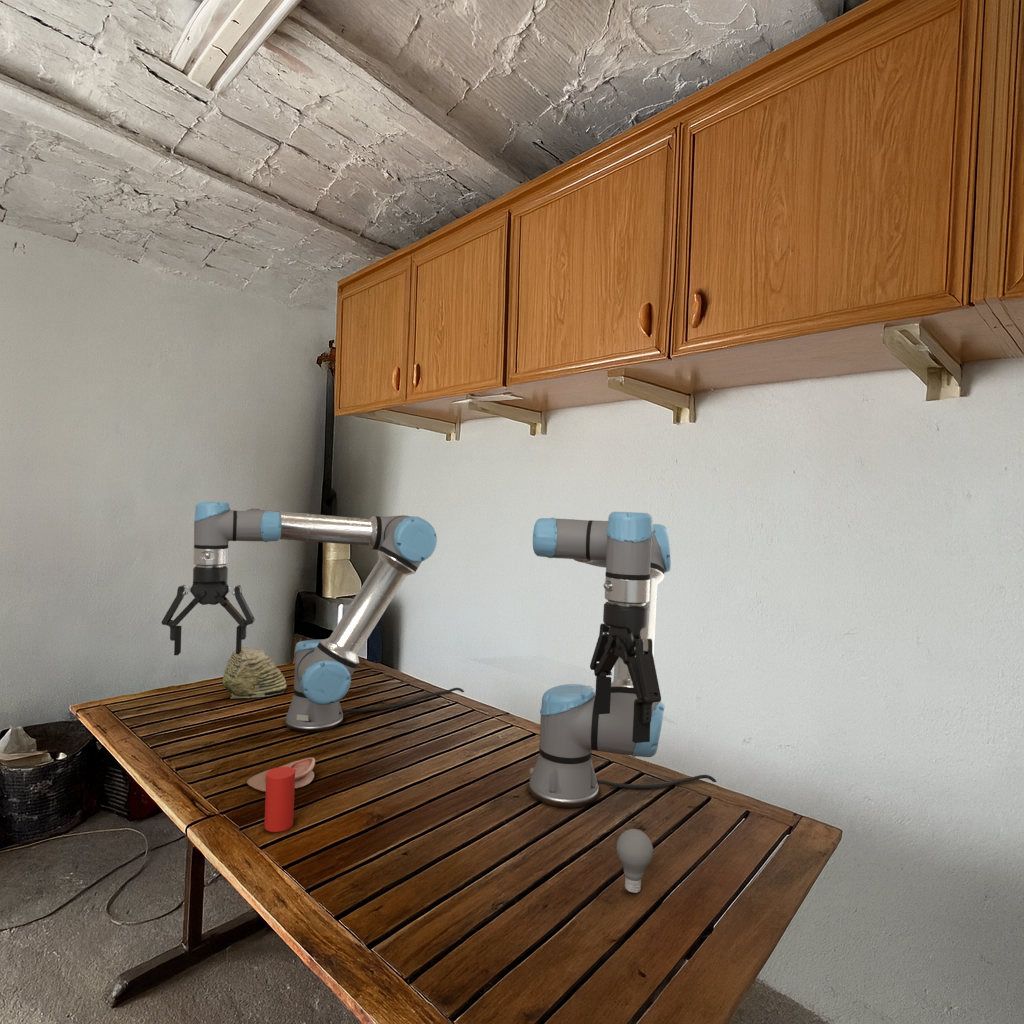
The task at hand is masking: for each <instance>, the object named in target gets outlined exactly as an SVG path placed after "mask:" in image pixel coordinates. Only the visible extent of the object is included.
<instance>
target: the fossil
mask: <svg viewBox="0 0 1024 1024" xmlns="http://www.w3.org/2000/svg"><path fill="white" fill-rule="evenodd" d="M222 676H223V677H222V685H223V687H224V688H225V690H226V691H228V693H229V698H230V699H250V698H264V697H271V696H275V695H281V694H284V693H285V691H286V689H287V687H288V686H287V680H286V678H285V676H284V674H283V673H282V672H281V669H279V668H278V667H277V665H276V663H275V662H274V660H273V659H272V658H271V657H270V656H269V655H268V654H267V653H266V652H265V650H264V649H263V648H260V647H258V648H251V647H247V646H246V647H245V646H241V652H240V654H236V649H235V650H233V651H232V653H231V656H230V657H229V659H228V660H227V663H226V666H225V668H224V671H223V675H222Z"/></svg>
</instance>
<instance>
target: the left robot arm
mask: <svg viewBox="0 0 1024 1024" xmlns="http://www.w3.org/2000/svg"><path fill="white" fill-rule="evenodd" d="M194 508H195V510H194V521H193V565H195V566H194V567H192V585H191V586H188V585H187V586H186V585H185V584H181V585H179V586H178V587H177V589H176V591H177V592H176V596H175V598H174V599H173V601H172V603H171V604H170V606H169V608H168V609H167V611H166V613H165V615H164V617H163V618H162V620H161V622H160V623H161V625H163V626H168V627H169V639H170V641H171V642H174V646H173V647H174V648H173V656H179V654H181V652H182V625H179V624H180V623H181V622H182V621H183V619H185V618H186V616H187V615H189V613H190V612H191V611H192V610H193V609H194V608H195V607H196V606H197V605H198V604H200V605H201V606H206V605H211V606H216V605H220V606H221V607H222V608H224V609H225V610H226V612H227V613H228V614H229V615H230V616H231V617H232V619H234V620H235V622H236V623H237V624H238V625H237V626H236V631H235V632H236V633H235V635H236V637H235V650H236V654H240V652H241V647H242V643H243V642H242V640H243V641H244V640H246V638H247V630H248V629H247V628H248V626H249V625H253V623H254V622H255V621H256V619H255V616H254V615H253V613H252V610H251V608H250V606H249V604H248V603H247V600H246V599H245V597H244V594H243V589H242V585H240V584H238V585H236V586H229V584H228V576H229V574H228V572H229V568H228V564H229V542H264V543H268V542H269V543H270V542H278V541H280V540H284V541H296V542H297V541H299V542H313V543H325V544H326V543H327V544H341V545H353V546H367V547H368V549H370V550H374V551H376V550H377V553H378V560H377V561H376V564H375V565H374V566H373V568H372V569H371V571H370V573H369V574H368V576H367V577H366V579H365V581H364V582H363V584H362V586H361V587H360V589H359V590H358V592H357V593H356V594H355V596H354V598H353V600H352V602H351V603H350V604H349V606H348V608H347V609H346V610H345V612H344V614H343V616H342V617H341V618H340V620H339V622H338V623H337V625H336V626H335V628H334V630H333V631H332V633H331V634H330V636H329V637H328V638H324V639H307V640H301V641H298V642H297V643H296V644H295V648H294V649H295V650H294V672H293V673H294V674H293V675H294V676H293V695H292V696H293V697H292V699H291V702H290V704H289V708H288V711H287V713H286V715H285V726H286V728H287V729H289V730H291V731H294V732H295V731H296V732H301V733H316V732H325V731H329V730H332V729H335V728H337V727H339V726H340V725H342V723H343V722H344V714H343V713H367V712H375V711H376V712H377V711H383V710H387V709H392V708H396V707H397V708H398V707H400V706H403V705H408V704H410V703H414V702H417V701H419V700H422V699H426V698H429V697H433V696H438V695H443V694H448V693H451V692H455V691H459V692H460V693H465V690H464V689H462V688H460V687H453V688H450V689H446V690H442V691H436V692H431V693H427V694H422V695H419V696H417V697H413V698H411V699H407V700H404V701H402V702H401V701H400V702H398V703H393V704H388V705H385V706H377V707H370V708H349V709H346V708H345V709H342V706H341V702H340V701H341V700H342V699H343V698H344V697H345V696H346V695H347V694H348V692H349V689H350V687H351V683H352V675H354V672H355V671H356V669H357V667H358V666H359V665H360V659H359V653H360V651H361V650H362V648H363V647H364V645H365V643H367V641H368V639H369V637H370V636H371V634H372V632H373V630H374V629H375V627H376V626H377V625H378V622H379V621H380V619H381V618H382V616H383V615H384V613H385V612H386V610H387V608H388V607H389V605H390V603H391V602H392V600H393V599H394V597H395V595H396V594H397V592H398V591H399V589H400V587H401V586H402V585H403V582H404V581H405V579H406V578H407V577H408V576H410V575H414V574H416V572H417V570H418V569H419V567H420V566H421V564H422V563H423V562H424V561H426V560H427V559H429V558H430V557H431V556H432V555H433V554H434V553H435V550H436V548H437V545H438V544H437V543H438V536H437V533H436V530H435V528H434V526H433V525H432V524H431V523H430V522H429V521H427V520H426V519H424V518H423V517H420V516H417V515H416V516H415V515H413V516H411V515H405V514H404V515H403V514H402V515H391V516H387V515H386V516H380V515H373V516H371V517H370V518H361V517H350V516H339V515H338V516H337V515H326V514H316V513H315V514H314V513H303V512H291V511H280V510H269V509H268V510H266V509H260V508H249V509H246V510H236V509H235V510H233V509H231V507H230V503H229V502H227V501H199V502H198V503H197V504H195V507H194ZM189 592H190V594H191V595H192V596H193V599H192V600H191V601H190V602H189V603H188V604H187V606H186V607H185V608H184V609H183V610H182V611H181V612H180V613H178V615H177V616H176V617H175V618H174V619H172V618H173V617H174V615H175V614H176V611H177V610H178V608H179V607H180V605H181V603H182V601H183V599H184V597H185V596H187V595H188V594H189ZM228 593H231V595H232V596H234V597H235V600H236V602H237V604H238V606H239V607H240V609H241V612H242V614H241V613H240V612H239V611H238V610H237V608H236V607H235V606H234V605H233V604H232V603H231V602H230V600H229V599H228V598H227V597H226V596H227V595H228Z"/></svg>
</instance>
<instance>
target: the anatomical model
mask: <svg viewBox="0 0 1024 1024" xmlns="http://www.w3.org/2000/svg"><path fill="white" fill-rule="evenodd" d="M315 766H316V758H315V757H306V758H302V759H299V760H295V761H291V762H289V763H287V764H283V765H281V766H280V765H279V767H291V768H293V769H295V789H299V788H302V787H305V786H307V785H309V784H310V783H311V782H312V781H313V780H314V778H315V772H314V771H313V769H314V767H315ZM269 770H270V769H268V770H267V769H266V770H264V771H262V772H259V773H257V774H255V775H253V776H252V777H250V778H249V779H247V781H246V784H247V785H248V786H249V787H251V788H253V789H255V790H258V791H260V792H266V773H267V772H268V771H269Z"/></svg>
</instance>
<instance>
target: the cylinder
mask: <svg viewBox="0 0 1024 1024" xmlns="http://www.w3.org/2000/svg"><path fill="white" fill-rule="evenodd" d="M268 770H269V771H268V772H267V773H266V791H265V795H264V796H265V799H264V802H265V804H264V825H263V827H264V829H265V830H266V831H267V832H269V833H270V832H271V833H282V832H285V831H287V830H289V829H291V828H292V827H293V825H294V819H295V818H294V815H295V793H296V791H295V789H296V788H295V769H293V768H291V767H280V766H277V767H273V768H270V769H268Z"/></svg>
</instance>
